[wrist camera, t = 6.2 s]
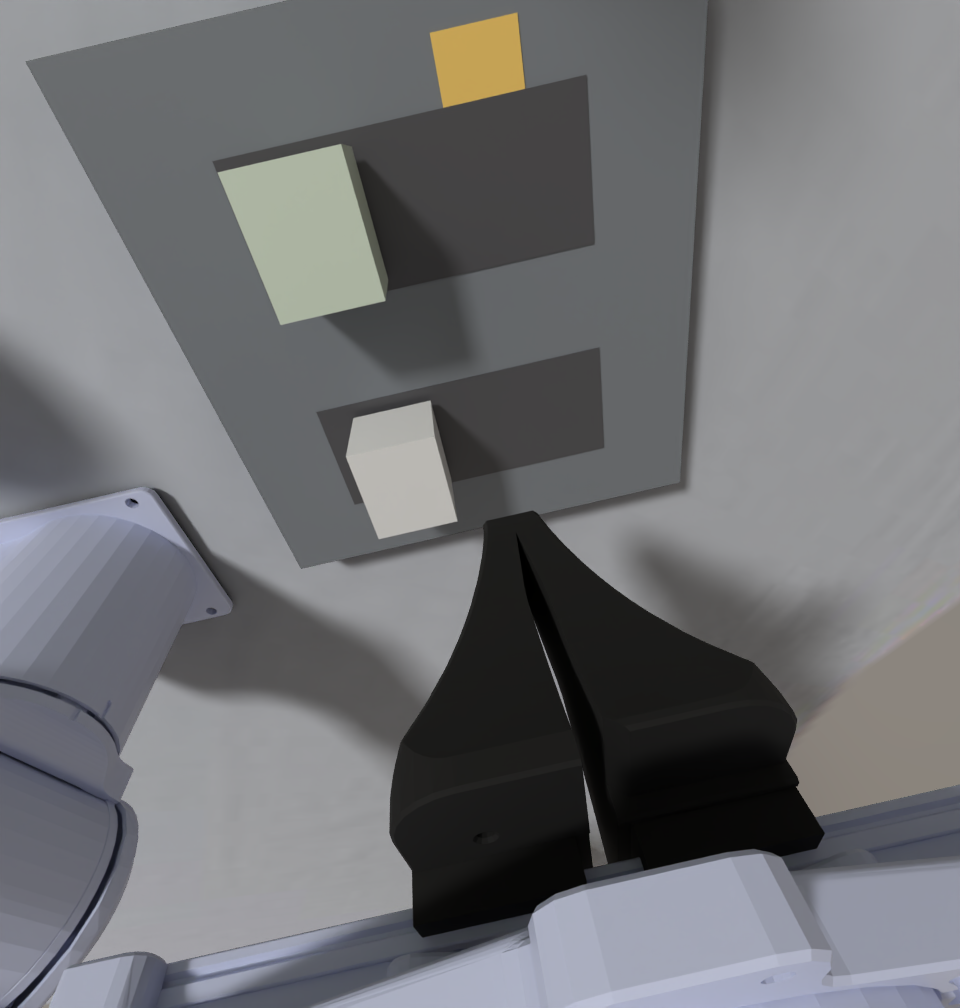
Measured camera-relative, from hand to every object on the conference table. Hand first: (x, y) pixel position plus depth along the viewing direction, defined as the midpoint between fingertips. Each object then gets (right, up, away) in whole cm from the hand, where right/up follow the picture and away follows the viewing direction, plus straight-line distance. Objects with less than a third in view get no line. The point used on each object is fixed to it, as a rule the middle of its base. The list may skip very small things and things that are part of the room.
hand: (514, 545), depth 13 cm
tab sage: (-6, +10, +2) cm, 11 cm away
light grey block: (-4, +3, +7) cm, 9 cm away
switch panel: (-2, +8, +6) cm, 11 cm away
